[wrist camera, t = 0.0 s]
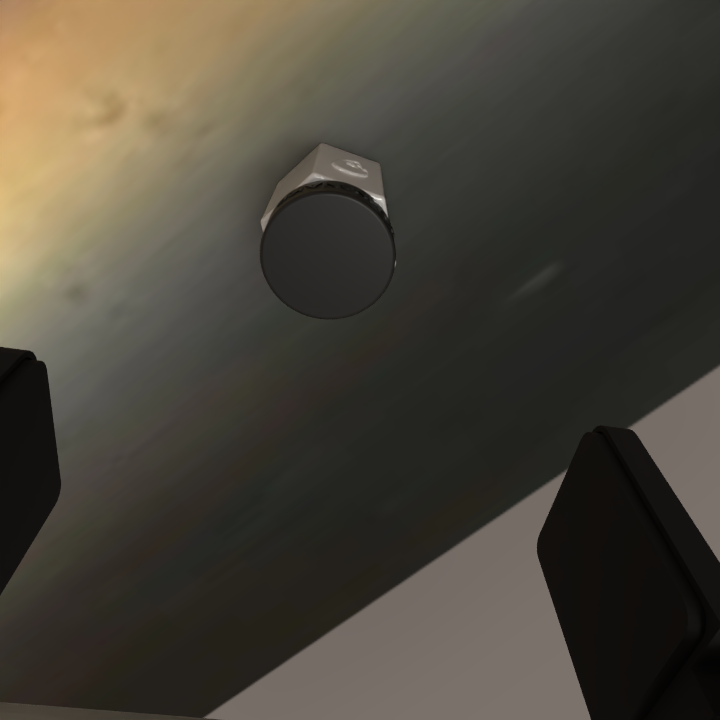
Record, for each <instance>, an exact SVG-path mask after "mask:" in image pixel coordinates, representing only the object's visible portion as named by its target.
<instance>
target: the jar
mask: <svg viewBox="0 0 720 720" xmlns="http://www.w3.org/2000/svg"><path fill="white" fill-rule="evenodd" d="M261 226H262V229H263V235H262V239H261V244H260V262H261V267H262V271H263V274H264V277H265V279H266V281H267V283H268V285H269V286H270V288H271V289H272V291H273V292H274V293H275V295H276V296H277V297H278V298H279V299H280V300H281V301H282V302H283V303H285V304H286V305H287V306H289V307H290V308H292V309H293V310H295V311H297V312H299V313H301V314H304V315H306V316H310V317H313V318H319V319H340V318H346V317H349V316H352V315H355V314H358V313H360V312H362V311H364V310H365V309H367V308H368V307H370V306H371V305H372V304H374V303H375V302H376V301H377V300H378V299H379V298H380V297H381V296H382V294H383V293H384V292H385V290H386V288H387V287H388V285H389V283H390V281H391V278H392V276H393V273H394V268H395V266H396V252H395V244H394V237H395V236H394V231H393V228H392V227H391V224H390V219H389V213H388V207H387V201H386V195H385V190H384V184H383V178H382V172H381V166H380V164H379V163H377V162H374V161H371V160H369V159H366V158H363V157H360V156H357V155H355V154H352V153H349V152H346V151H343V150H341V149H338V148H335V147H332V146H329V145H327V144H324V143H321V144H319V145H318V146H317V147H316V148H315V149H314V150H313V151H312V152H311V153H310V154H308V155H307V156H306V157H305V158H304V159H303V160H302V161H301V162H300V163H299V164H298V165H297V166H296V167H295V168H293V169H292V170H291V171H290V172H289V173H288V174H287V175H286V176H285V177H284V178H283V179H282V180H281V181H280V182H278V184H277V186H276V188H275V191H274V193H273V195H272V197H271V199H270V202H269V204H268V206H267V208H266V210H265V213H264V215H263V217H262V219H261Z"/></svg>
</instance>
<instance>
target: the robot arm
mask: <svg viewBox="0 0 720 720" xmlns="http://www.w3.org/2000/svg"><path fill="white" fill-rule="evenodd" d="M60 489H61V479H60V471H59V463H58V455H57V447H56V439H55V431H54V423H53V415H52V407H51V399H50V391H49V383H48V375H47V368H46V365H45V363H44V362H42V361H37V359H36V356H35V355H34V353H33V352H31V351H27V350H20V349H12V348H4V347H0V595H1V593H2V592H3V590H4V588H5V587H6V585H7V583H8V582H9V580H10V578H11V577H12V575H13V573H14V572H15V570H16V568H17V567H18V565H19V564H20V562H21V560H22V559H23V557H24V555H25V554H26V552H27V550H28V549H29V547H30V545H31V544H32V542H33V541H34V539H35V537H36V536H37V534H38V532H39V531H40V529H41V527H42V526H43V524H44V522H45V521H46V519H47V517H48V516H49V514H50V513H51V511H52V509H53V508H54V506H55V504H56V502H57V500H58V497H59V494H60ZM537 554H538V558H539V561H540V565H541V568H542V571H543V574H544V577H545V580H546V583H547V586H548V589H549V592H550V595H551V598H552V601H553V604H554V607H555V610H556V613H557V617H558V619H559V623H560V625H561V629H562V632H563V635H564V638H565V641H566V644H567V647H568V650H569V653H570V656H571V659H572V662H573V665H574V668H575V672H576V675H577V678H578V681H579V684H580V687H581V690H582V693H583V696H584V699H585V702H586V705H587V708H588V711H589V714H590V717H591V720H720V562H719V561H718V560H717V558H716V556H715V555H714V553H713V552H712V550H711V549H710V547H709V546H708V544H707V543H706V541H705V539H704V538H703V536H702V535H701V533H700V532H699V530H698V528H697V527H696V526H695V524H694V523H693V521H692V519H691V518H690V516H689V515H688V513H687V512H686V510H685V508H684V507H683V506H682V504H681V502H680V501H679V499H678V498H677V496H676V495H675V493H674V492H673V490H672V488H671V487H670V486H669V484H668V482H667V481H666V480H665V478H664V476H663V475H662V473H661V472H660V470H659V468H658V467H657V466H656V464H655V462H654V461H653V459H652V458H651V456H650V455H649V453H648V452H647V450H646V449H645V447H644V446H643V444H642V442H641V441H640V439H639V438H638V436H637V435H636V434H635V432H633V431H632V430H630V429H624V428H616V427H609V426H601V425H600V426H597V427H596V428H595V429H594V430H593V431H592V432H587V433H585V434H584V435H583V437H582V439H581V441H580V443H579V445H578V448H577V450H576V452H575V454H574V457H573V459H572V461H571V464H570V466H569V468H568V470H567V473H566V475H565V478H564V480H563V482H562V484H561V487H560V489H559V491H558V493H557V496H556V498H555V501H554V503H553V505H552V507H551V510H550V512H549V514H548V516H547V519H546V521H545V523H544V526H543V528H542V530H541V532H540V535H539V537H538V542H537ZM0 720H217V719H206V718H194V717H181V716H168V715H156V714H143V713H130V712H117V711H105V710H92V709H79V708H66V707H53V706H41V705H28V704H15V703H2V702H0Z"/></svg>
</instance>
